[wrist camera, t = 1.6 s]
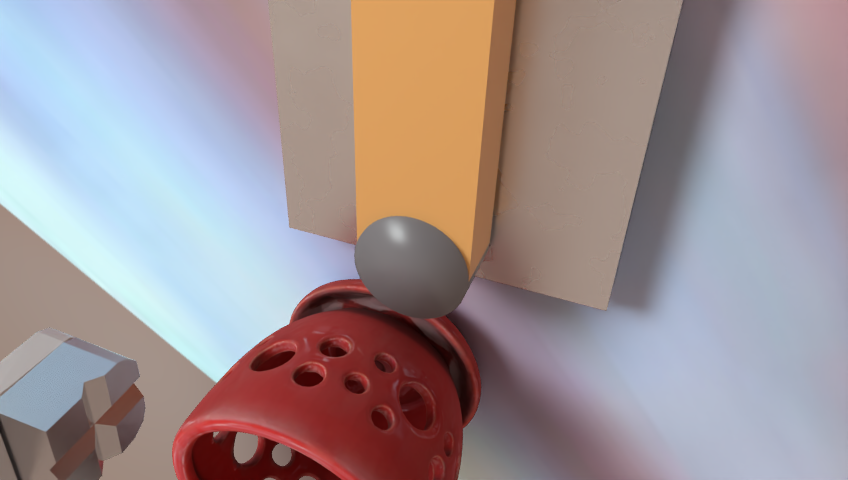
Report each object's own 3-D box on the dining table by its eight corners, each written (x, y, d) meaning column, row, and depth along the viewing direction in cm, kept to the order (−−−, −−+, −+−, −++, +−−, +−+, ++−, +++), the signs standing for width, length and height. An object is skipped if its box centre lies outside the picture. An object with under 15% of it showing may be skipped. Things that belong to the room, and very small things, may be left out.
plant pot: (274, 238, 40) (131, 388, 31) (502, 283, 36) (413, 471, 27) (305, 400, 47) (197, 560, 38) (497, 453, 43) (426, 647, 34)
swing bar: (527, -105, 23) (499, -85, 21) (484, 286, 33) (462, 331, 31) (386, -120, 25) (343, -103, 22) (385, 259, 34) (355, 301, 32)
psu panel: (712, -117, 23) (708, -106, 22) (613, 284, 33) (606, 311, 32) (281, -159, 28) (252, -153, 26) (308, 207, 38) (288, 228, 36)
